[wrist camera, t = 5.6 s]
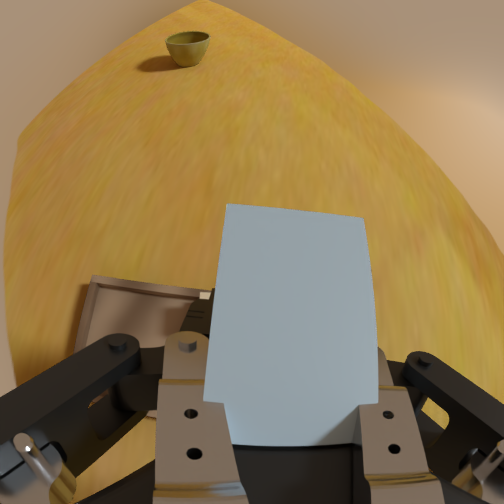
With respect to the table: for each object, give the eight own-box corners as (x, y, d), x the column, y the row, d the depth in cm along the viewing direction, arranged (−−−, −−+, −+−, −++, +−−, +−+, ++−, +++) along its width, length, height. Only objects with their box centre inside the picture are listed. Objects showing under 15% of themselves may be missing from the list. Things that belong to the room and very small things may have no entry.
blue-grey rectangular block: (288, 329, 17) (363, 218, 7) (284, 417, 14) (377, 439, 4) (230, 325, 17) (227, 203, 7) (222, 413, 14) (199, 440, 4)
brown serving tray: (322, 308, 31) (329, 301, 29) (319, 428, 25) (327, 430, 22) (100, 283, 30) (92, 274, 28) (78, 394, 24) (67, 393, 22)
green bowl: (216, 66, 56) (217, 39, 50) (173, 75, 53) (171, 47, 47) (201, 52, 60) (201, 28, 54) (162, 61, 57) (160, 36, 51)
